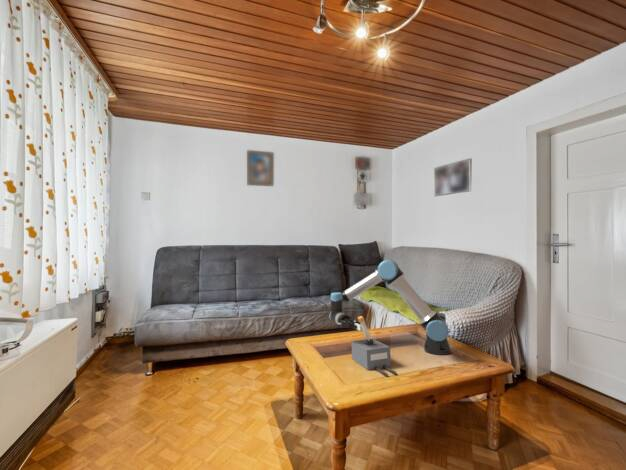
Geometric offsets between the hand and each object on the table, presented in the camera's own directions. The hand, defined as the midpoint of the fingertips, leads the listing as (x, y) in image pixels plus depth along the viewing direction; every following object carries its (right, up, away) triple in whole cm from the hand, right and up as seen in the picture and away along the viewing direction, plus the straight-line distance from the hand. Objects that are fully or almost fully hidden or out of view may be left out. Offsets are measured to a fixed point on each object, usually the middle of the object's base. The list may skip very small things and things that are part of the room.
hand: (361, 328), depth 152 cm
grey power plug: (+8, -20, -1) cm, 22 cm away
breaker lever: (+6, -10, +6) cm, 13 cm away
